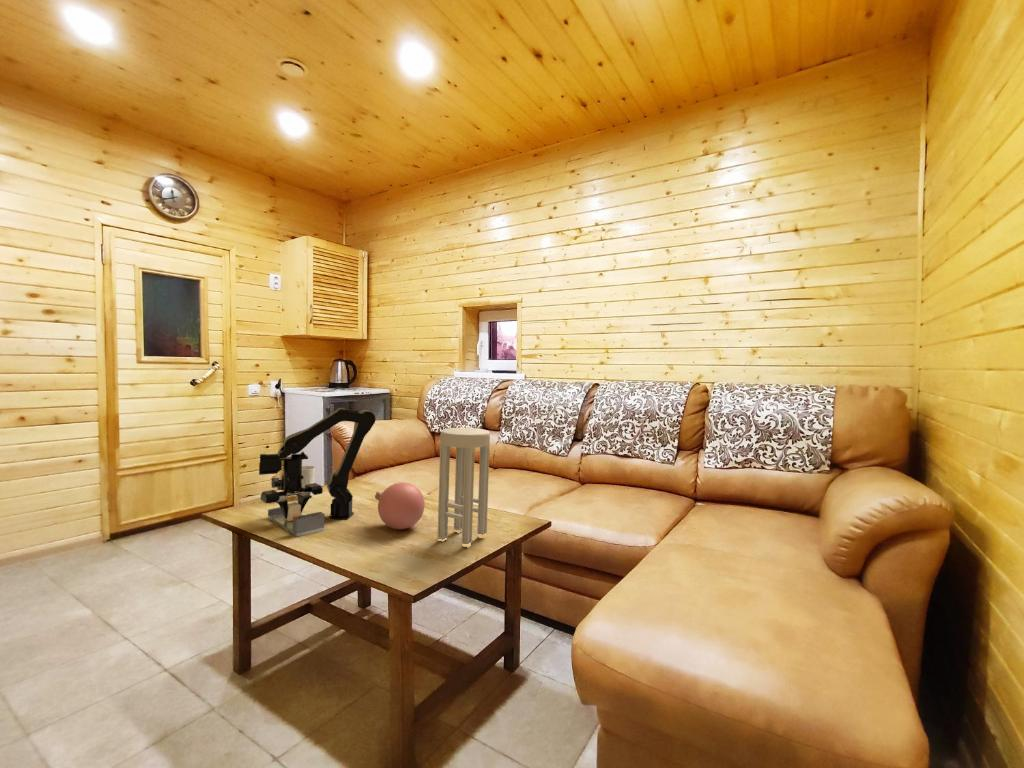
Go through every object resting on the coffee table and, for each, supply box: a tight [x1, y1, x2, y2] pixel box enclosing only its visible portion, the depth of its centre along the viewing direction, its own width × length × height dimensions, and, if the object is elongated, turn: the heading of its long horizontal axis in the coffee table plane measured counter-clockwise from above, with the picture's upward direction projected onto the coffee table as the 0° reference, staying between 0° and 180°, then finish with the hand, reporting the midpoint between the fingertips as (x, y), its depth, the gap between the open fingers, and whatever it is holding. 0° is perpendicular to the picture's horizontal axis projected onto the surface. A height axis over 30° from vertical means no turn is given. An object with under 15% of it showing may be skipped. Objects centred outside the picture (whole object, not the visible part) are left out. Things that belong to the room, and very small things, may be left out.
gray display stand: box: [267, 506, 325, 538], centre depth 161 cm, size 24×9×6 cm, turn 47°
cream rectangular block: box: [284, 501, 302, 521], centre depth 161 cm, size 9×4×5 cm, turn 47°
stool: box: [437, 427, 491, 544], centre depth 152 cm, size 16×16×35 cm
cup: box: [295, 465, 316, 500], centre depth 192 cm, size 8×8×12 cm
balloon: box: [374, 481, 426, 530], centre depth 162 cm, size 15×20×15 cm
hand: (292, 517), depth 163 cm, fingers closed on cream rectangular block, 4 cm apart
